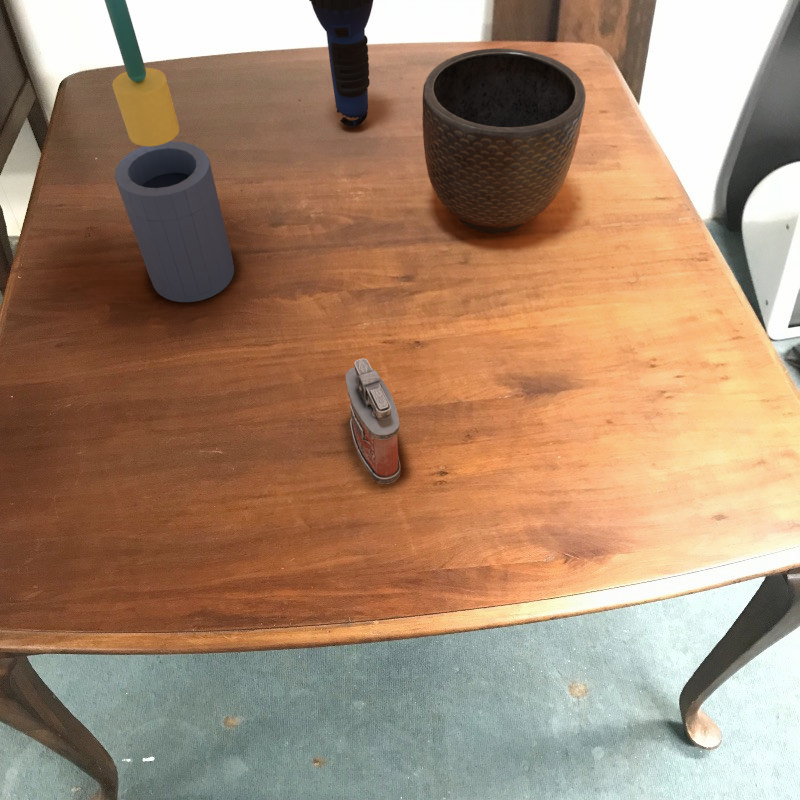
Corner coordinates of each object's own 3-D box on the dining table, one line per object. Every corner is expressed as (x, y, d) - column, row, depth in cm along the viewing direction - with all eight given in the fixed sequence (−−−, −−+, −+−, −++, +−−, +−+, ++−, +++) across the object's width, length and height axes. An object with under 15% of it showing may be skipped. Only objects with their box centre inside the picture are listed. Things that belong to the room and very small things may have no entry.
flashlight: (311, 122, 107) (293, -32, 91) (360, 104, 109) (351, -48, 94) (340, 149, 103) (327, -7, 87) (390, 130, 105) (386, -25, 90)
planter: (451, 272, 87) (458, 147, 75) (402, 185, 97) (400, 62, 85) (588, 238, 90) (617, 113, 78) (526, 158, 101) (543, 36, 88)
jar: (151, 307, 84) (112, 201, 73) (152, 253, 90) (116, 147, 79) (236, 295, 85) (210, 189, 74) (232, 242, 91) (207, 136, 80)
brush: (128, 149, 70) (41, -112, 54) (129, 121, 72) (47, -134, 56) (179, 143, 70) (109, -118, 54) (179, 115, 73) (111, -140, 57)
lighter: (343, 422, 74) (335, 352, 66) (376, 412, 75) (372, 340, 67) (373, 489, 69) (368, 421, 61) (408, 477, 70) (407, 408, 62)
